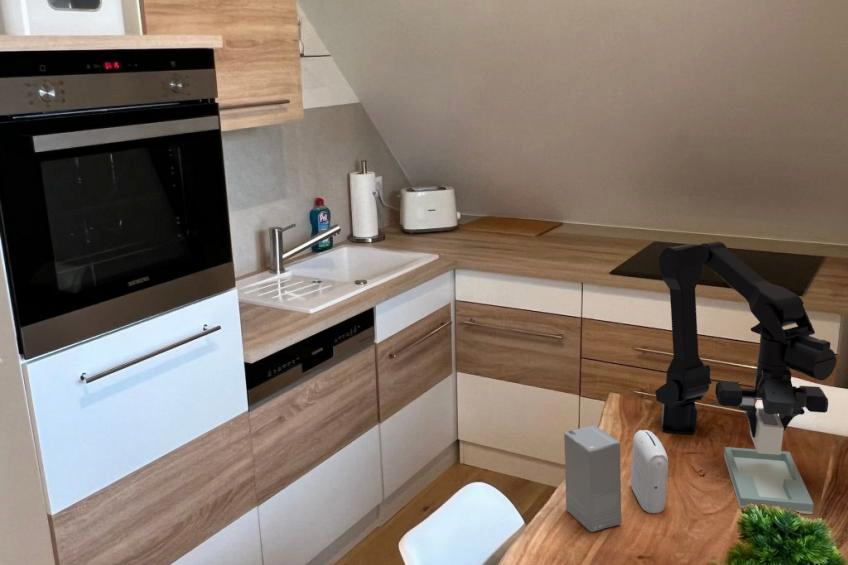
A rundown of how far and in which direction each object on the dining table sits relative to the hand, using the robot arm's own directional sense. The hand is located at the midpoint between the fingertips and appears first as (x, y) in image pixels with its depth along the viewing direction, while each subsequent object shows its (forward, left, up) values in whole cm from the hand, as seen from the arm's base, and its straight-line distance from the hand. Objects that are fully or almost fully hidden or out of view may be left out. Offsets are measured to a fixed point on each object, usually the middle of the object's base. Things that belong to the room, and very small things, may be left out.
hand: (765, 437), depth 154 cm
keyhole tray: (0, -4, -8) cm, 8 cm away
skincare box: (-32, -21, -8) cm, 39 cm away
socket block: (0, 0, -1) cm, 1 cm away
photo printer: (-22, -13, -8) cm, 26 cm away
